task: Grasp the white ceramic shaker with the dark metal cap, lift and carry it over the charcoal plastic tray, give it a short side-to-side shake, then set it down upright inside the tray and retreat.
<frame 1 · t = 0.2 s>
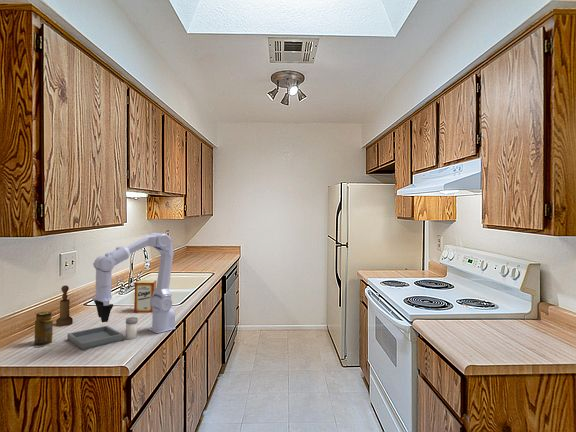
hand: (103, 319, 154), 10 cm above the counter, tool pointing down, fingers open, 7 cm apart
tray: (95, 339, 158), on the counter
spice box: (145, 311, 203), on the counter
brown pepper mill: (64, 324, 177), on the counter
condiment: (43, 343, 153), on the counter
shaker: (131, 337, 162), on the counter
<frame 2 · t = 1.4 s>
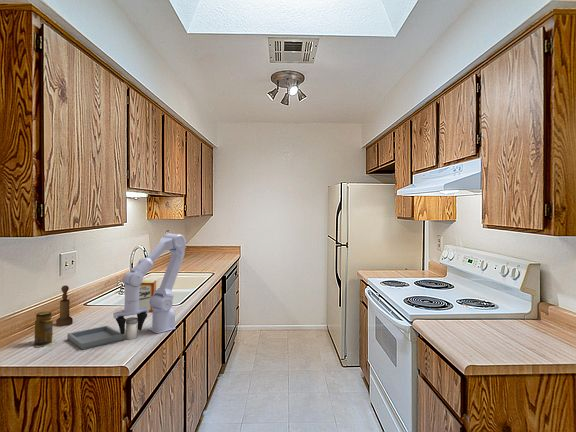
hand: (131, 332, 162), 2 cm above the counter, tool pointing down, fingers open, 7 cm apart
nothing on the counter moved.
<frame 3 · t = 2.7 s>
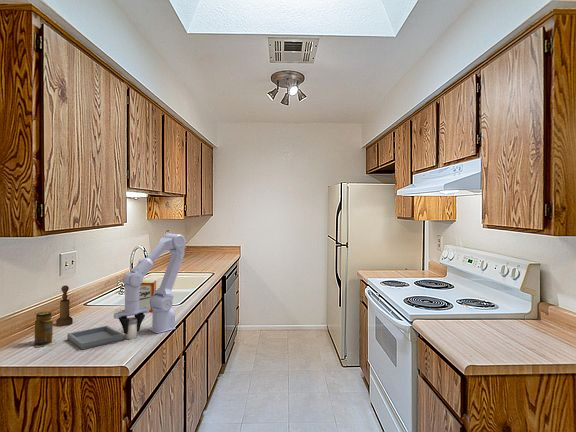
hand: (131, 332, 162), 2 cm above the counter, tool pointing down, fingers closed on shaker, 4 cm apart
shaker: (131, 337, 162), on the counter, touching gripper
everything else where it was.
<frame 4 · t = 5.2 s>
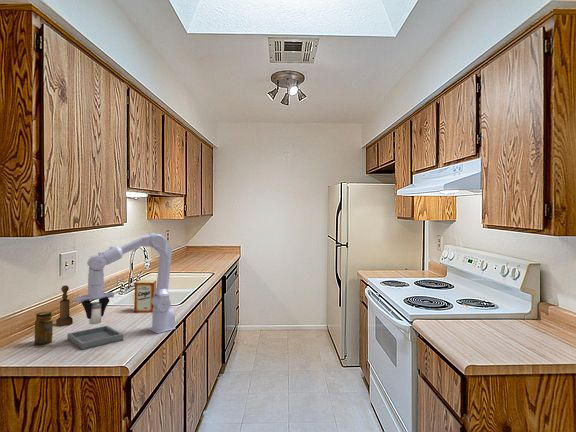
hand: (95, 317, 158), 9 cm above the counter, tool pointing down, fingers closed on shaker, 4 cm apart
shaker: (95, 322, 158), point 7 cm above the counter, touching gripper
everything else where it was.
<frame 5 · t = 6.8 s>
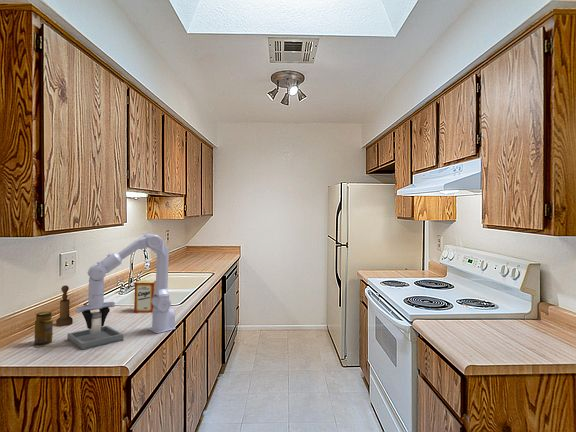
hand: (95, 326, 158), 5 cm above the counter, tool pointing down, fingers closed on shaker, 4 cm apart
shaker: (95, 332, 158), point 3 cm above the counter, touching gripper
everything else where it was.
when the fingers open (4 cm above the counter, at t = 8.0 s): shaker stays where it is, resting on tray.
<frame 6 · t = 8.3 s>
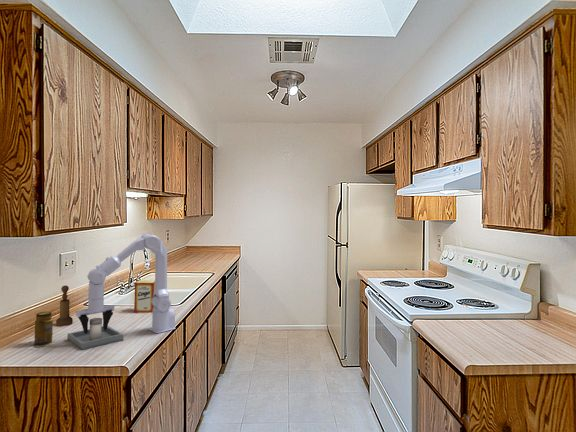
hand: (95, 330, 158), 4 cm above the counter, tool pointing down, fingers open, 7 cm apart
shaker: (95, 338, 158), point 1 cm above the counter, touching tray
everything else where it was.
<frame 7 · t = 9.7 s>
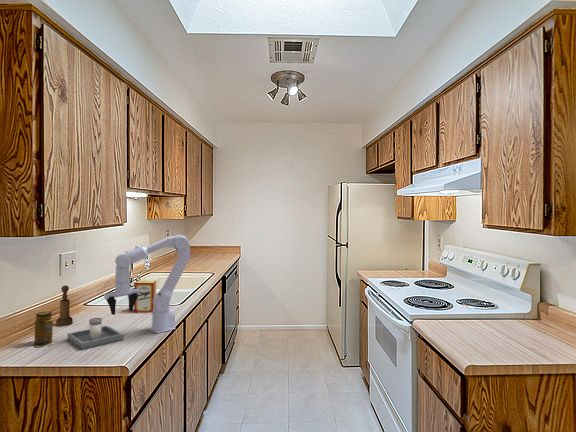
hand: (122, 312, 166), 9 cm above the counter, tool pointing down, fingers open, 7 cm apart
nothing on the counter moved.
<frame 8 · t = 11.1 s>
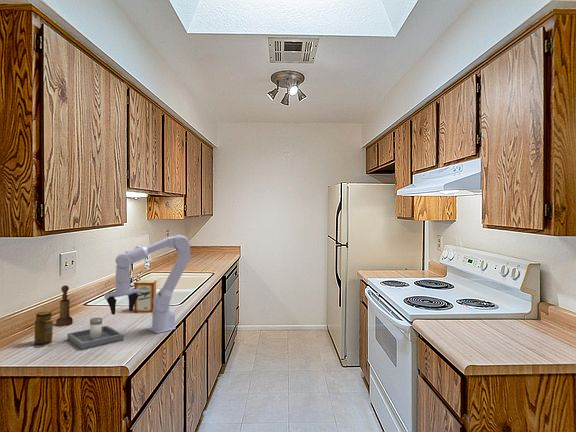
hand: (122, 312, 166), 9 cm above the counter, tool pointing down, fingers open, 7 cm apart
nothing on the counter moved.
at the end: shaker inside the target area on the tray (0.1 cm from its centre), point 0.7 cm above the tray's base; shaker tilted 2°; the gripper is holding nothing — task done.
